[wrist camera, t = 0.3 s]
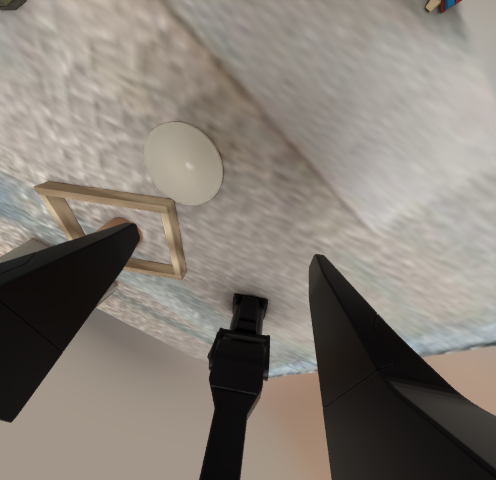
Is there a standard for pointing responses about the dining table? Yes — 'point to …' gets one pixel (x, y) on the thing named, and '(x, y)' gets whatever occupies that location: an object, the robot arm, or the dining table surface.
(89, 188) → the wooden frame
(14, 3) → the thermos
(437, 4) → the woven mat
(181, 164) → the cream saucer
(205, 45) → the dining table surface
